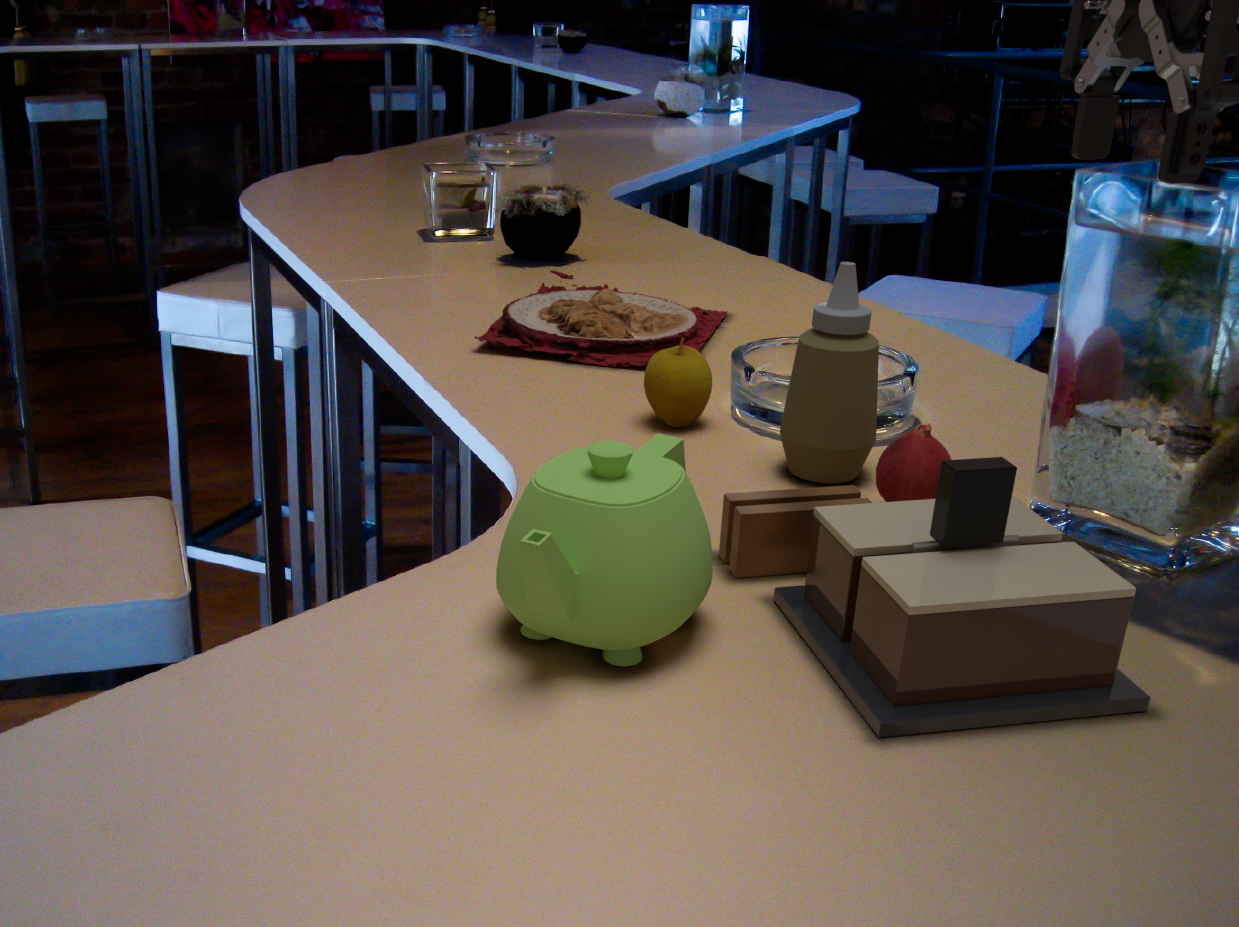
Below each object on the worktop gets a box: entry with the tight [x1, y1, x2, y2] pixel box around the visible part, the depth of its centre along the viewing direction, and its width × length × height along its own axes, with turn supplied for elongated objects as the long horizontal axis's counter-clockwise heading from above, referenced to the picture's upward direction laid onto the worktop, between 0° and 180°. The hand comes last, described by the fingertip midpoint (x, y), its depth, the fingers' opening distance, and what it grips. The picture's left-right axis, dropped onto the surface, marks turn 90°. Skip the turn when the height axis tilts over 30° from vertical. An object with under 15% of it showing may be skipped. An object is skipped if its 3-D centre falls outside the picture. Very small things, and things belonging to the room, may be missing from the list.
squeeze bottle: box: [779, 261, 880, 484], centre depth 105 cm, size 8×8×18 cm
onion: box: [875, 422, 952, 502], centre depth 98 cm, size 6×6×8 cm
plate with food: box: [474, 269, 728, 368], centre depth 146 cm, size 24×26×3 cm
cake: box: [773, 495, 1151, 738], centre depth 79 cm, size 17×17×8 cm
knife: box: [910, 456, 1019, 554], centre depth 78 cm, size 7×2×12 cm, turn 100°
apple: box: [643, 337, 713, 428], centre depth 118 cm, size 6×6×8 cm
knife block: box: [718, 484, 873, 579], centre depth 92 cm, size 10×4×5 cm, turn 100°
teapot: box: [495, 433, 714, 667], centre depth 81 cm, size 20×13×13 cm
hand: (1130, 169), depth 75 cm, fingers open, 8 cm apart
